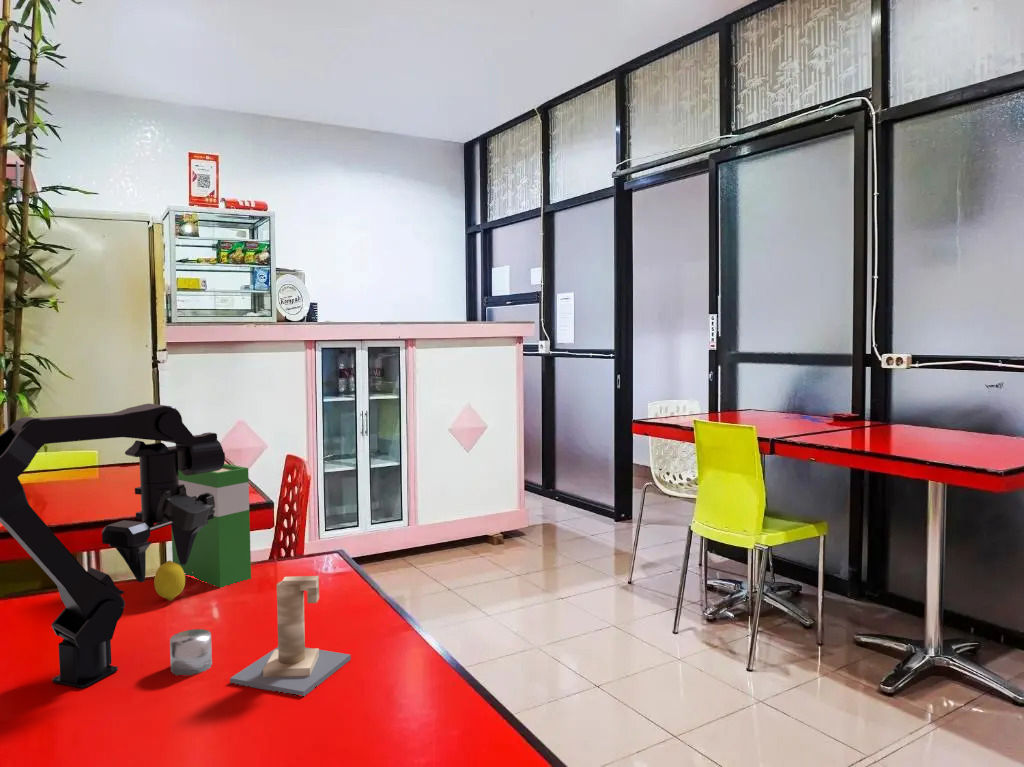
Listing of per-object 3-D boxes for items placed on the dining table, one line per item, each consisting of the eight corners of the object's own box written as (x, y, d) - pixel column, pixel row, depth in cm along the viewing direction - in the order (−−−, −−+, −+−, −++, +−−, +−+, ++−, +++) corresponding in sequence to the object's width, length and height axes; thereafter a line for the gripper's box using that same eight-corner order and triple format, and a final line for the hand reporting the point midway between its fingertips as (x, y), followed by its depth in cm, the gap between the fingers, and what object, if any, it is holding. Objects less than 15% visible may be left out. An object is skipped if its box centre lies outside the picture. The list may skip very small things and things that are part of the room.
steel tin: (193, 678, 115) (192, 647, 114) (162, 672, 117) (161, 641, 116) (220, 662, 120) (219, 632, 120) (190, 656, 122) (189, 627, 122)
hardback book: (173, 572, 165) (169, 464, 163) (203, 563, 171) (200, 459, 169) (220, 588, 154) (216, 473, 153) (251, 578, 160) (248, 467, 159)
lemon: (191, 595, 150) (189, 556, 149) (176, 606, 144) (174, 565, 144) (165, 595, 150) (163, 556, 150) (149, 605, 145) (147, 564, 144)
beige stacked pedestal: (263, 677, 113) (260, 586, 112) (275, 656, 120) (272, 571, 119) (314, 675, 114) (312, 585, 113) (323, 655, 121) (321, 570, 120)
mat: (303, 696, 109) (303, 691, 109) (230, 683, 113) (230, 678, 113) (350, 659, 121) (350, 654, 121) (282, 648, 125) (282, 643, 125)
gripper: (154, 495, 112) (158, 597, 113) (238, 472, 129) (240, 561, 130) (97, 490, 115) (101, 589, 116) (186, 468, 133) (189, 554, 134)
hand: (163, 572), depth 124 cm, fingers open, 9 cm apart
